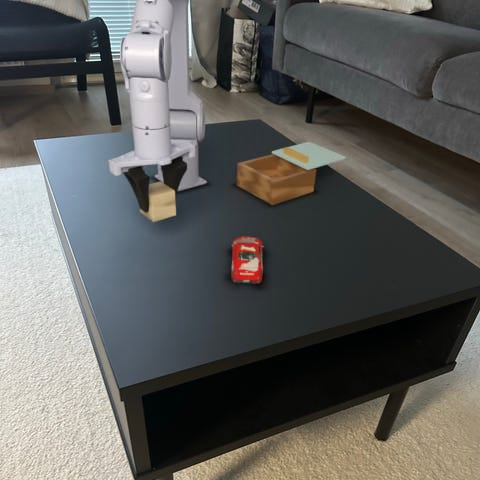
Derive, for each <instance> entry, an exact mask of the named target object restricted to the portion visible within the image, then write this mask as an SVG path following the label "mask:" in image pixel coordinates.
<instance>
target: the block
mask: <svg viewBox="0 0 480 480" xmlns="http://www.w3.org/2000/svg"><path fill="white" fill-rule="evenodd" d="M148 195H149V212H144V211H143V210H141V209H140V208H139V213H141V214H142V215H143V216H145V218H147V219H148V220H150V221H151V222H152V223H156V222H159V221H162V220H165V219H168V218H172V217H175V216H177V203H176V201H175V190H173V189H172V188H170V187H169V186H167V185H166V184H164V183H163V182H161V181H158V182H154V183H149V192H148Z"/></svg>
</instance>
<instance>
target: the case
mask: <svg viewBox="0 0 480 480" xmlns="http://www.w3.org/2000/svg"><path fill="white" fill-rule="evenodd" d="M236 167H237V169H236V186H237V187H239V188H241V189H243V190H245V192H248V193H250V194H252V195H254V196H255V197H257V198H259V199H261V200H262V201H264V202H266V203H268V204H269V205H271V206H274V205H278V204H280V203H283V202H286V201H289V200H292V199H296V198H299V197H301V196H302V197H303V196H305V195H307V194H311V193H313V192H314V190H315V185H316V175H317V169H316V168H314V169H310V170H306V169H304V168H302V167H300V166H298V165H296V164H294V163H291V162H289V161H287V160H285V159H283V158H281V157H279V156H277V155H274V154H272V153H271V154H268V155H263V156H261V157H255V158H253V159H248V160H245V161H241V162H237V166H236Z"/></svg>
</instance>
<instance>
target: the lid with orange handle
mask: <svg viewBox="0 0 480 480" xmlns="http://www.w3.org/2000/svg"><path fill="white" fill-rule="evenodd" d="M271 154H274V155H277V156H279V157H281V158H283V159H285V160H287V161H289V162H291V163H294V164H296V165H298V166H300V167H302V168H304V169H306V170H310V169H316V168H320V167H323V166H324V167H325V166H327V165H331V164H334V163H337V162H341V161H344V160H346V159H347V158H346V156H344V155H342V154H340V153H337V152H335V151H332V150H330V149H328V148H325V147H323V146H320V145H318V144H316V143H313V142H311V141H306V142H302V143H299V144H295V145H290V146H286V147H283V148H279V149H275V150H272V151H271Z"/></svg>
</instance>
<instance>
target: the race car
mask: <svg viewBox="0 0 480 480" xmlns="http://www.w3.org/2000/svg"><path fill="white" fill-rule="evenodd" d="M231 247H232V256H231V268H230V269H231V270H230V271H231V273H230V274H231V275H230V276H231V280H232V282H234V283H236V284H246V285H247V284H248V285H249V284H250V285H257V284H260V283H261V282H262V281H263V271H264V265H263V248H264V247H265V246H264V245H263V242H262V240H261V239H259V238H257V237H253V236H249V235H247V236H246V235H245V236H239V237H236V238H235V239H233V241H232V244H231Z"/></svg>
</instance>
